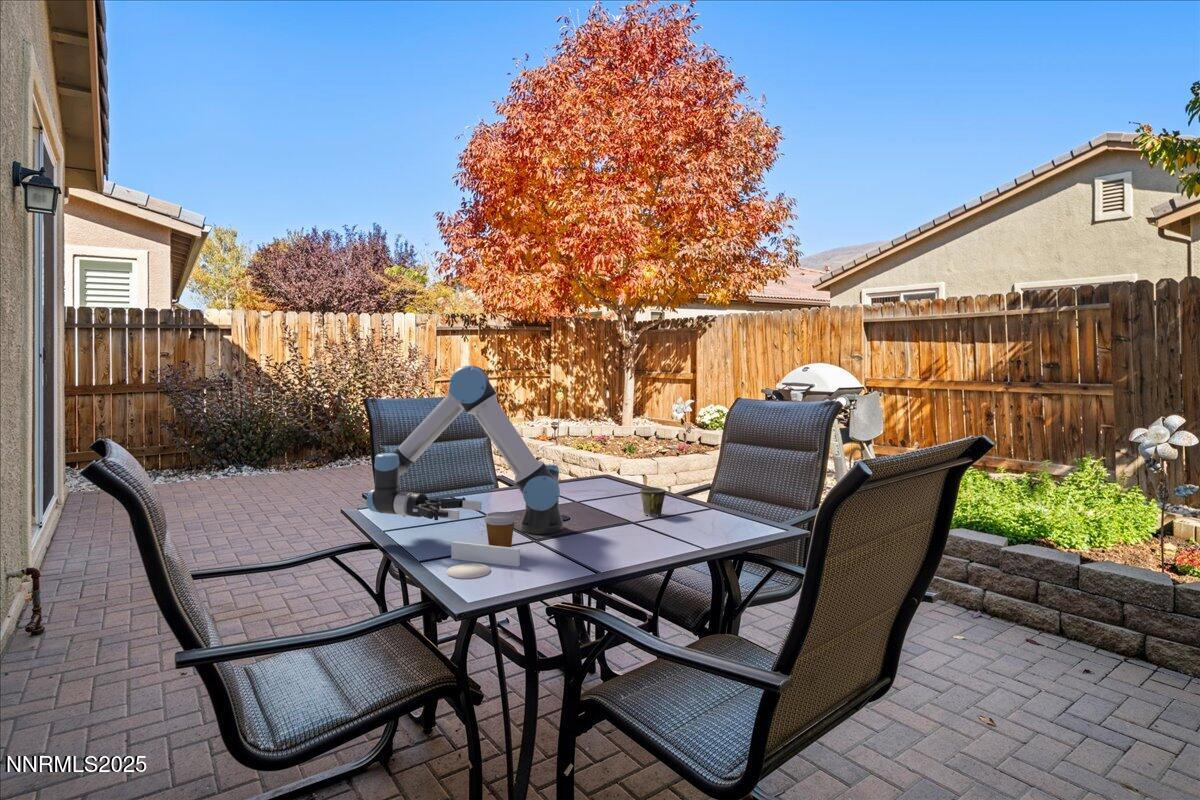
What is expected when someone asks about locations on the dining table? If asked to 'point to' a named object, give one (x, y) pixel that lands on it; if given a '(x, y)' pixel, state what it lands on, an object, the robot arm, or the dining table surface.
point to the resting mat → (468, 571)
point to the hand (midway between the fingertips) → (470, 510)
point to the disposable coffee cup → (500, 528)
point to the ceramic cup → (652, 500)
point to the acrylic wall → (485, 553)
